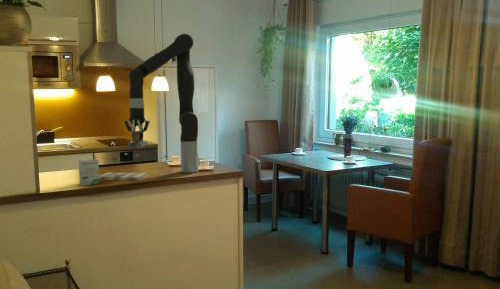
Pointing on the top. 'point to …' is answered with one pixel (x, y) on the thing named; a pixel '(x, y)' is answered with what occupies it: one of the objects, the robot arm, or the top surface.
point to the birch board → (122, 176)
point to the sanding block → (137, 141)
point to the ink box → (89, 172)
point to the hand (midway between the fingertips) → (137, 139)
